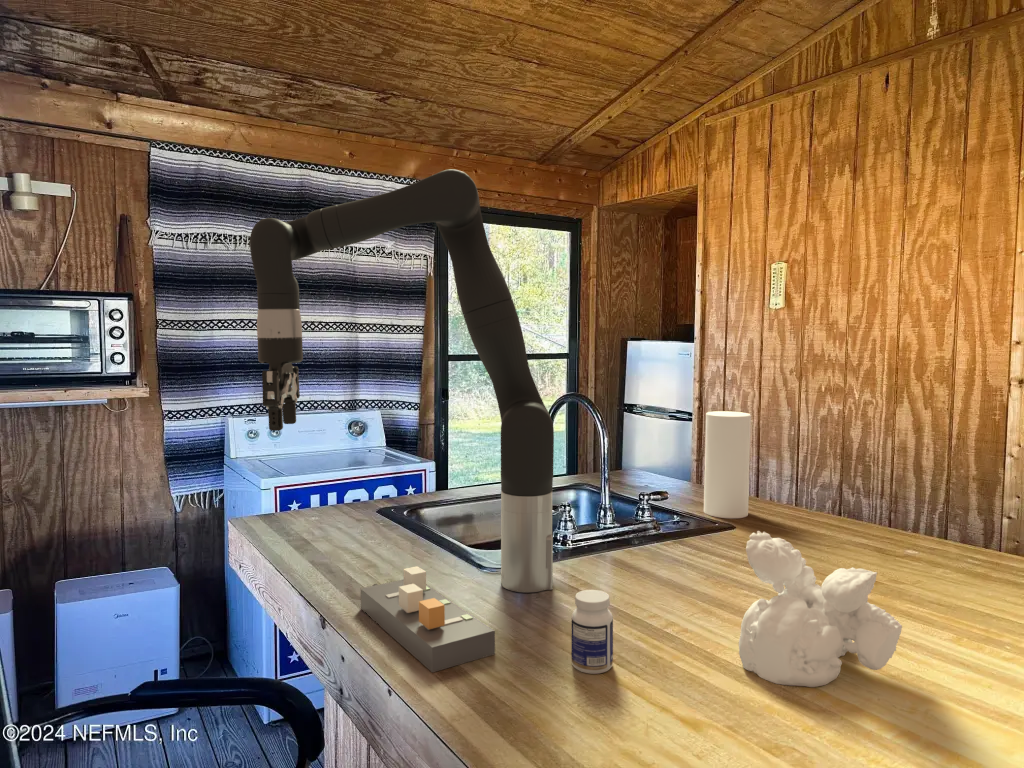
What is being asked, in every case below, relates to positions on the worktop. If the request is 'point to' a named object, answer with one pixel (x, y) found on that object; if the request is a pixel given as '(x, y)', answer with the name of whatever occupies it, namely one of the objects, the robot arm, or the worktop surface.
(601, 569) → the worktop surface
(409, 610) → the switch
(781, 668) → the white plaster sculpture
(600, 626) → the pill bottle
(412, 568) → the switch
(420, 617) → the switch
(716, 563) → the worktop surface
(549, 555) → the robot arm
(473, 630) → the slider control box
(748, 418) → the tall pillar cylinder
